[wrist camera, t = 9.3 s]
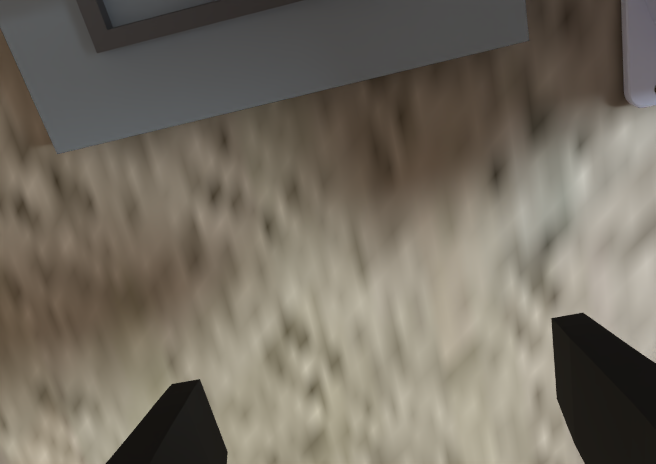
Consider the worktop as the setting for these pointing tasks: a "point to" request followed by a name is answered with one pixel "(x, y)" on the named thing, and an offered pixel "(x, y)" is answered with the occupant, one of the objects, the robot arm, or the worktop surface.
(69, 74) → the slate base plate
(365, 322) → the worktop surface
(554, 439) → the worktop surface
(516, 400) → the worktop surface
